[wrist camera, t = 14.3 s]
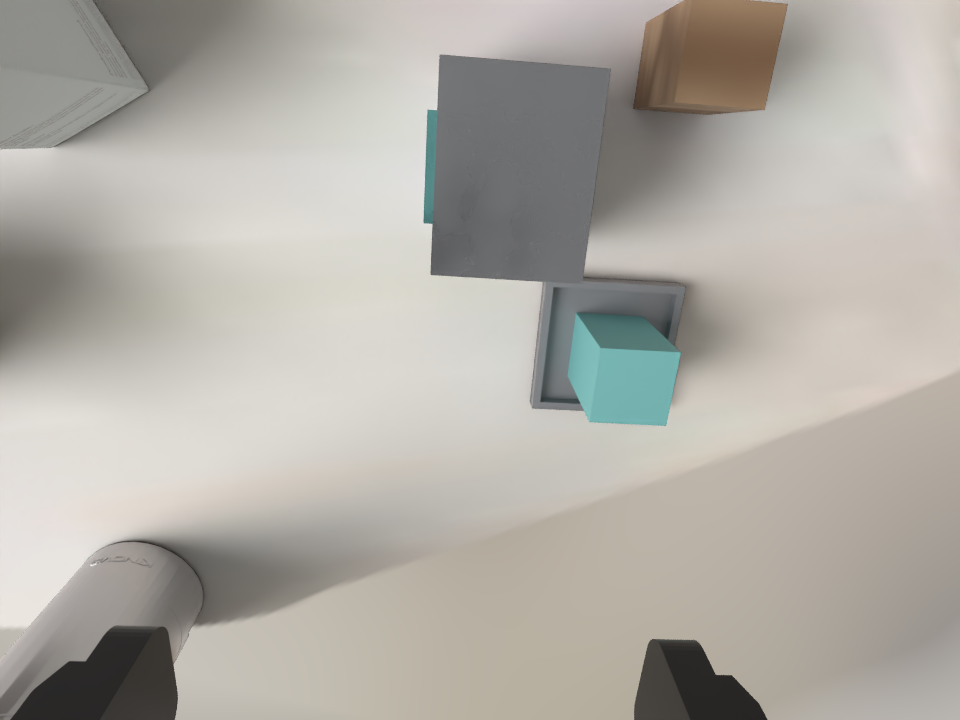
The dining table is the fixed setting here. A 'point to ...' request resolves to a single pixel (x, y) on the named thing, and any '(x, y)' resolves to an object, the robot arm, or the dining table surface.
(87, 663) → the robot arm
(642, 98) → the walnut block
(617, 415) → the teal block
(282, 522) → the dining table surface
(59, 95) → the supplement box
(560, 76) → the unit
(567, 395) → the tray
